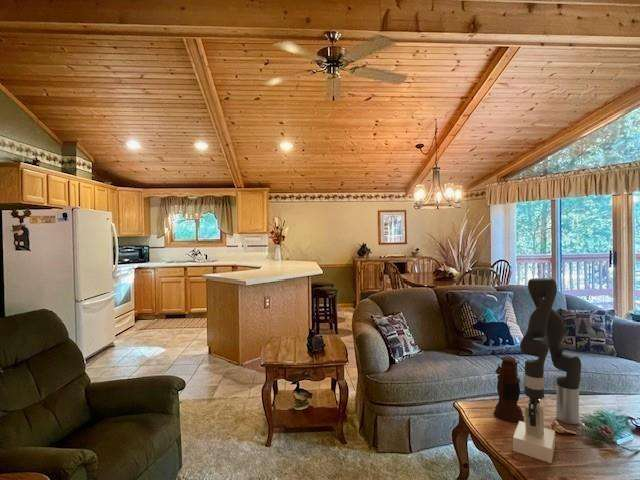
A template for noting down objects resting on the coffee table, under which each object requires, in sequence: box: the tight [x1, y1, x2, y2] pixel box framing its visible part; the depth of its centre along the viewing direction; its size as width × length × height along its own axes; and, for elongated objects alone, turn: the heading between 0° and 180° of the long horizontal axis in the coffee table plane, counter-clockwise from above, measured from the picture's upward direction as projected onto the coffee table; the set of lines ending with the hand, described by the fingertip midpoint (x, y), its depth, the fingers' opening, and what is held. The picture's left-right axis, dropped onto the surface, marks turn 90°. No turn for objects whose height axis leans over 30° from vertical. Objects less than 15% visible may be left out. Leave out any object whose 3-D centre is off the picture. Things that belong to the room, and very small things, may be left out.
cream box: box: [512, 421, 556, 464], centre depth 157 cm, size 16×14×6 cm
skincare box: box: [524, 403, 545, 439], centre depth 156 cm, size 6×4×12 cm
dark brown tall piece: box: [493, 356, 525, 424], centre depth 182 cm, size 17×14×30 cm
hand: (534, 421), depth 156 cm, fingers open, 8 cm apart
